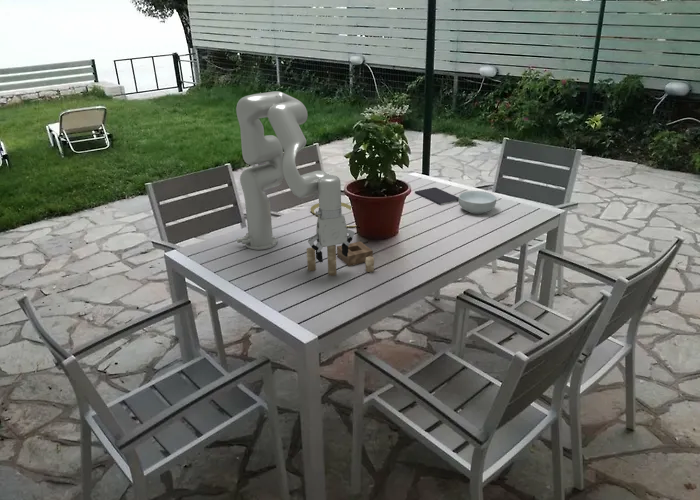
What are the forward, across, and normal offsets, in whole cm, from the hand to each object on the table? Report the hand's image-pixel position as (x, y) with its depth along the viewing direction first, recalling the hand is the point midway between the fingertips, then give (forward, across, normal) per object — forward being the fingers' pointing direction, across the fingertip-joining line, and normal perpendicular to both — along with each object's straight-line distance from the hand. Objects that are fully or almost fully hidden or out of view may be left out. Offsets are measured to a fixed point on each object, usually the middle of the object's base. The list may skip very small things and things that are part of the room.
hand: (332, 258), depth 194 cm
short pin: (+6, +13, -4) cm, 15 cm away
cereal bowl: (+7, +85, +27) cm, 89 cm away
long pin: (+6, 0, 0) cm, 6 cm away
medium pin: (+6, -5, +7) cm, 11 cm away
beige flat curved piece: (+6, +28, +52) cm, 60 cm away
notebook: (+7, +81, +52) cm, 97 cm away
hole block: (+6, +13, +8) cm, 17 cm away
